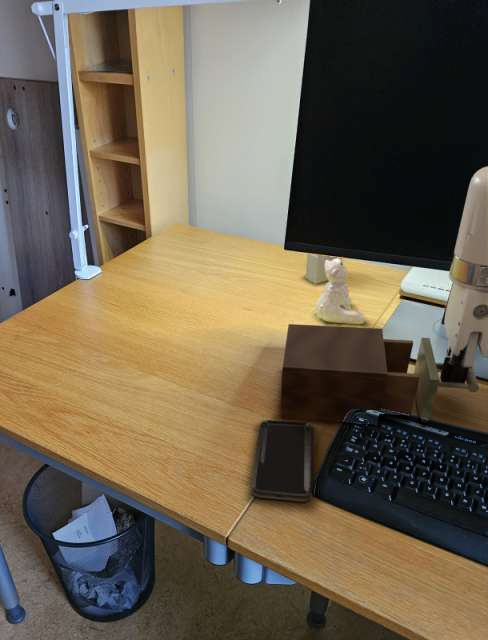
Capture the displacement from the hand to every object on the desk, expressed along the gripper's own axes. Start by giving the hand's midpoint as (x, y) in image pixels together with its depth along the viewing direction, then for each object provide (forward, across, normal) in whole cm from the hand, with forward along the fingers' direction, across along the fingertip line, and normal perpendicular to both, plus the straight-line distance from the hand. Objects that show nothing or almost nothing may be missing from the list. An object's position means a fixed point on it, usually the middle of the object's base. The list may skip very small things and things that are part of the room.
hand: (451, 382), depth 84 cm
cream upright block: (+5, +45, +20) cm, 49 cm away
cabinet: (+4, 0, +18) cm, 18 cm away
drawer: (+4, 0, +7) cm, 8 cm away
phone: (+4, -16, +24) cm, 29 cm away
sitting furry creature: (+5, +27, +17) cm, 32 cm away
